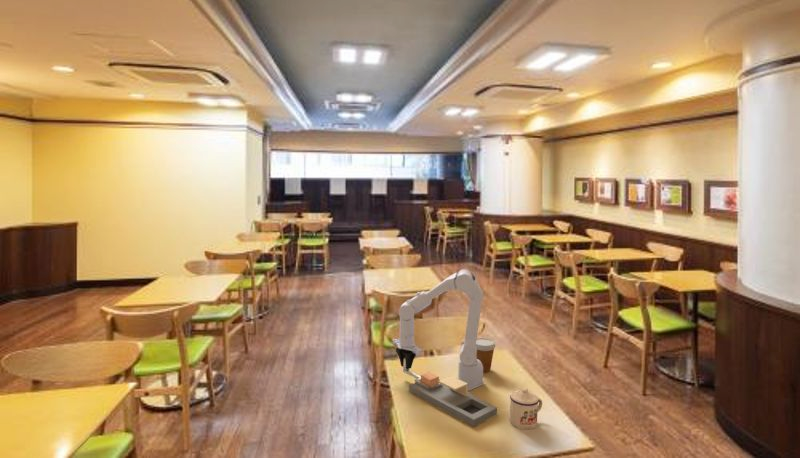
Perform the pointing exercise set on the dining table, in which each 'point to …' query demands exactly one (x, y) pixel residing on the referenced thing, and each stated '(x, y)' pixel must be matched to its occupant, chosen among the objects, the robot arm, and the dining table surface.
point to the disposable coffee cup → (485, 352)
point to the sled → (418, 377)
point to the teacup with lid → (524, 408)
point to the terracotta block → (429, 378)
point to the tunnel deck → (456, 400)
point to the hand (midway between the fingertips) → (406, 367)
